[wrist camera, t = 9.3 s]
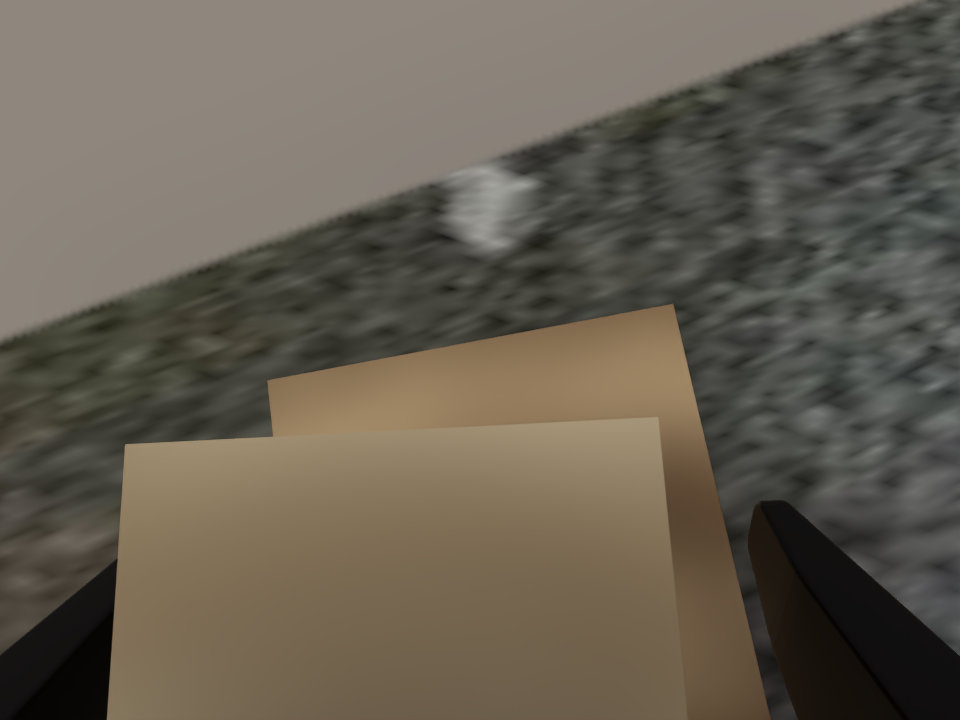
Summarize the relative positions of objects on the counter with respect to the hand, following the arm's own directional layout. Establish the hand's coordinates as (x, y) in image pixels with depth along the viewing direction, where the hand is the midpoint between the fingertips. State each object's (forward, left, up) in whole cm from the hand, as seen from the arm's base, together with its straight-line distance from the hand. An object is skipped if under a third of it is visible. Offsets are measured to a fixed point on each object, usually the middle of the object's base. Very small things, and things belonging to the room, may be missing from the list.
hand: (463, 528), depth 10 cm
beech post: (-1, 0, -7) cm, 8 cm away
